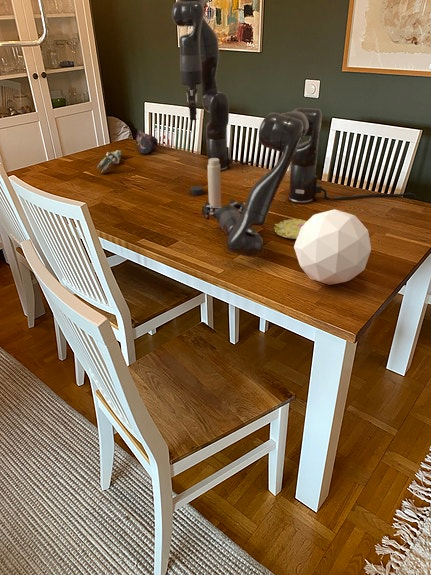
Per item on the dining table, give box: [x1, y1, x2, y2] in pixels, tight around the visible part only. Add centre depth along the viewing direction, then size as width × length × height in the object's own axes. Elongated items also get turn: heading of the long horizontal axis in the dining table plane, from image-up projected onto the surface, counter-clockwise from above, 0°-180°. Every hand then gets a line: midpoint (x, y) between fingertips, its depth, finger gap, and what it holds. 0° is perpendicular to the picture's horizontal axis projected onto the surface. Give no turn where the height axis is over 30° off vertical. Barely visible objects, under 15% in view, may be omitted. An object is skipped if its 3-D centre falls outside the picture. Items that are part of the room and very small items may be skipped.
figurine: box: [96, 150, 123, 174], centre depth 213 cm, size 7×8×30 cm
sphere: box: [293, 208, 372, 286], centre depth 116 cm, size 19×20×20 cm
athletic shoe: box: [135, 130, 162, 155], centre depth 233 cm, size 11×22×12 cm
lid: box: [189, 185, 204, 196], centre depth 179 cm, size 5×5×2 cm
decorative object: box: [273, 218, 308, 240], centre depth 145 cm, size 21×2×20 cm
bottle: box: [206, 158, 222, 210], centre depth 160 cm, size 5×5×19 cm
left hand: (193, 117), depth 164 cm, fingers open, 8 cm apart
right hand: (219, 202), depth 154 cm, fingers open, 8 cm apart
